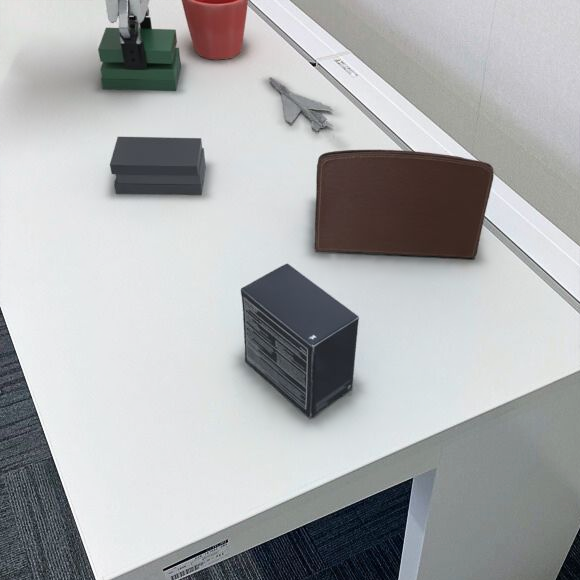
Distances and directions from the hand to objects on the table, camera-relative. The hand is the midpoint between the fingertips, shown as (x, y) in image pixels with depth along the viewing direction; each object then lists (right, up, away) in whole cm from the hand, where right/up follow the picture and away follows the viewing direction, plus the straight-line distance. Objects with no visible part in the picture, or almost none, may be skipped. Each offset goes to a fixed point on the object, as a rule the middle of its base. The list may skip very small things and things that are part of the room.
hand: (139, 54), depth 117 cm
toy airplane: (+25, -9, -2) cm, 27 cm away
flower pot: (+10, +5, +10) cm, 15 cm away
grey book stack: (+7, -22, -15) cm, 28 cm away
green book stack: (0, -3, +3) cm, 4 cm away
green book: (0, 0, 0) cm, 0 cm away
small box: (+27, -48, -37) cm, 66 cm away
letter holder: (+38, -30, -20) cm, 52 cm away
